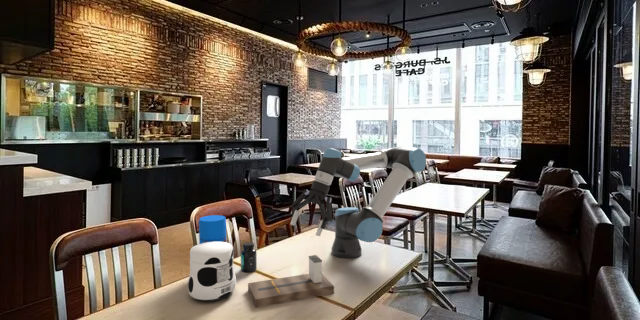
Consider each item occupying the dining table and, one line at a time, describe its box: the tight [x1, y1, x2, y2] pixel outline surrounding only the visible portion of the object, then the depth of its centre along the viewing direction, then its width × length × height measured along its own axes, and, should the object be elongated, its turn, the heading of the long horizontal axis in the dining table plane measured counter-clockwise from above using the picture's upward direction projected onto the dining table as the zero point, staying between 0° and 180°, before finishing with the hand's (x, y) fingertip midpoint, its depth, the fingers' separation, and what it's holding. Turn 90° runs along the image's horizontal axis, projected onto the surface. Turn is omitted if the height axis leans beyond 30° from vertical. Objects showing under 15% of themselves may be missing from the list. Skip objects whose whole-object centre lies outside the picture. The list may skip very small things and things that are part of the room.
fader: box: [308, 254, 323, 283], centre depth 139 cm, size 3×6×9 cm, turn 22°
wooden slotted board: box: [247, 273, 335, 308], centre depth 136 cm, size 30×14×3 cm, turn 112°
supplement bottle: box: [240, 241, 258, 274], centre depth 156 cm, size 7×7×12 cm
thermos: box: [198, 214, 227, 244], centre depth 149 cm, size 11×11×25 cm
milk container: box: [187, 241, 237, 302], centre depth 133 cm, size 17×17×18 cm
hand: (304, 230), depth 150 cm, fingers open, 13 cm apart
